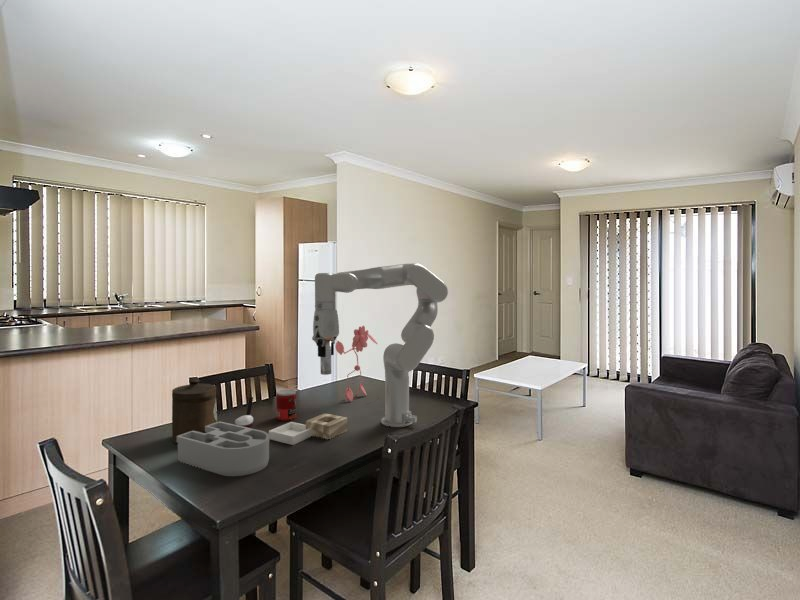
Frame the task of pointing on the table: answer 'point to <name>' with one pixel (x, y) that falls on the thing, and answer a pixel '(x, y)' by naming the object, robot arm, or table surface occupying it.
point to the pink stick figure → (359, 342)
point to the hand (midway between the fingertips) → (325, 355)
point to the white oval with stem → (246, 417)
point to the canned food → (286, 405)
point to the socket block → (327, 425)
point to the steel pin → (326, 358)
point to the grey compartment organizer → (225, 449)
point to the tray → (290, 433)
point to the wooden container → (193, 407)
